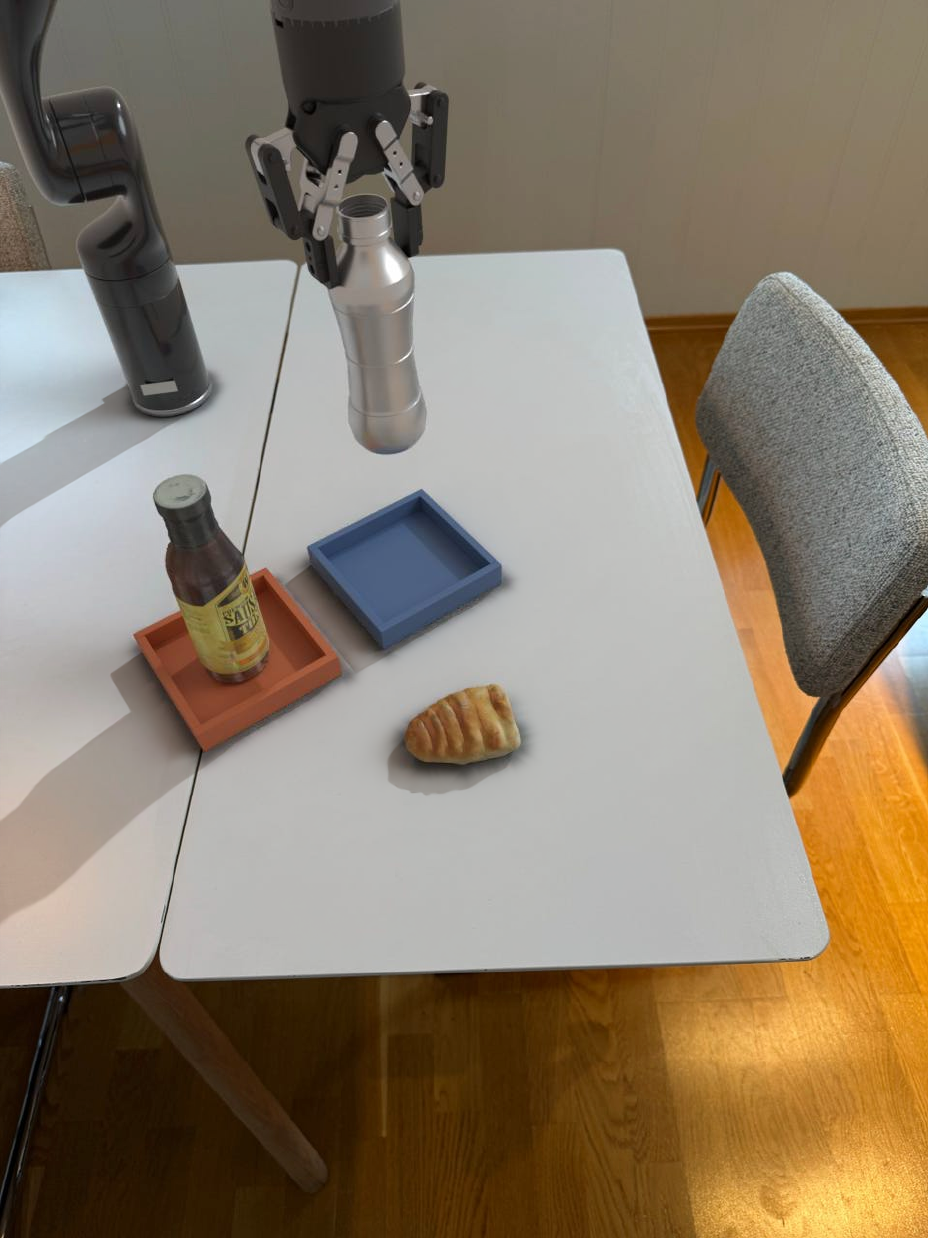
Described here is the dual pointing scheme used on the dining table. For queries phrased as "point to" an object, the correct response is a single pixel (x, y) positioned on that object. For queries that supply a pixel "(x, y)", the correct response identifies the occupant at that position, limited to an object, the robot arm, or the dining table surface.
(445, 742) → the pastry
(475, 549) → the blue tray
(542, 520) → the dining table surface
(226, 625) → the sauce bottle
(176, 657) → the terracotta tray
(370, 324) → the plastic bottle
